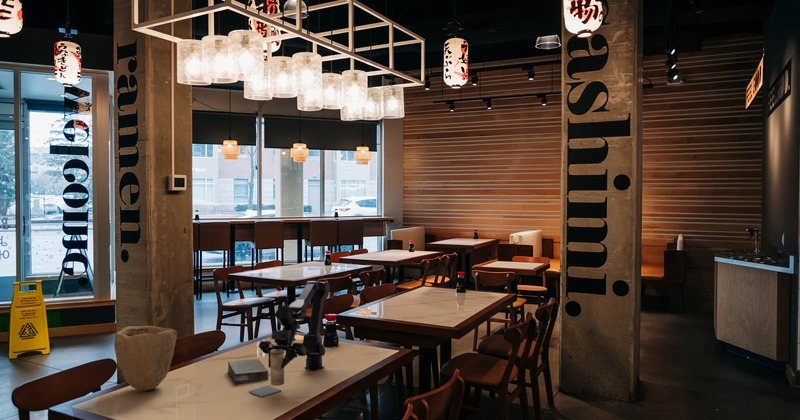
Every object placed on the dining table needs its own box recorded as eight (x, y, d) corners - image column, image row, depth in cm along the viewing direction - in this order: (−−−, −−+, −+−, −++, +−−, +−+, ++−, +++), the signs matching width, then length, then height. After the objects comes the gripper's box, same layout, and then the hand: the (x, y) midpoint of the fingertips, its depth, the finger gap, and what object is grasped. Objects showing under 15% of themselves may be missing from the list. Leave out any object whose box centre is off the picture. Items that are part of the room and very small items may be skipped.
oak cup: (281, 380, 213) (280, 347, 212) (286, 383, 208) (286, 350, 208) (268, 383, 210) (268, 350, 209) (274, 386, 205) (273, 352, 205)
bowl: (189, 386, 218) (188, 325, 218) (137, 404, 199) (136, 337, 199) (156, 378, 230) (155, 320, 230) (104, 393, 212) (103, 330, 211)
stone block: (235, 385, 220) (235, 373, 220) (227, 372, 238) (227, 361, 238) (268, 380, 226) (268, 368, 226) (258, 368, 244) (258, 357, 244)
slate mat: (268, 386, 217) (268, 385, 217) (281, 391, 211) (281, 390, 211) (248, 392, 210) (248, 391, 210) (261, 397, 204) (261, 396, 204)
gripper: (260, 320, 215) (245, 355, 205) (302, 322, 210) (289, 358, 199) (270, 335, 223) (257, 369, 212) (311, 337, 218) (300, 373, 207)
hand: (275, 367), depth 208 cm, fingers closed on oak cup, 5 cm apart
